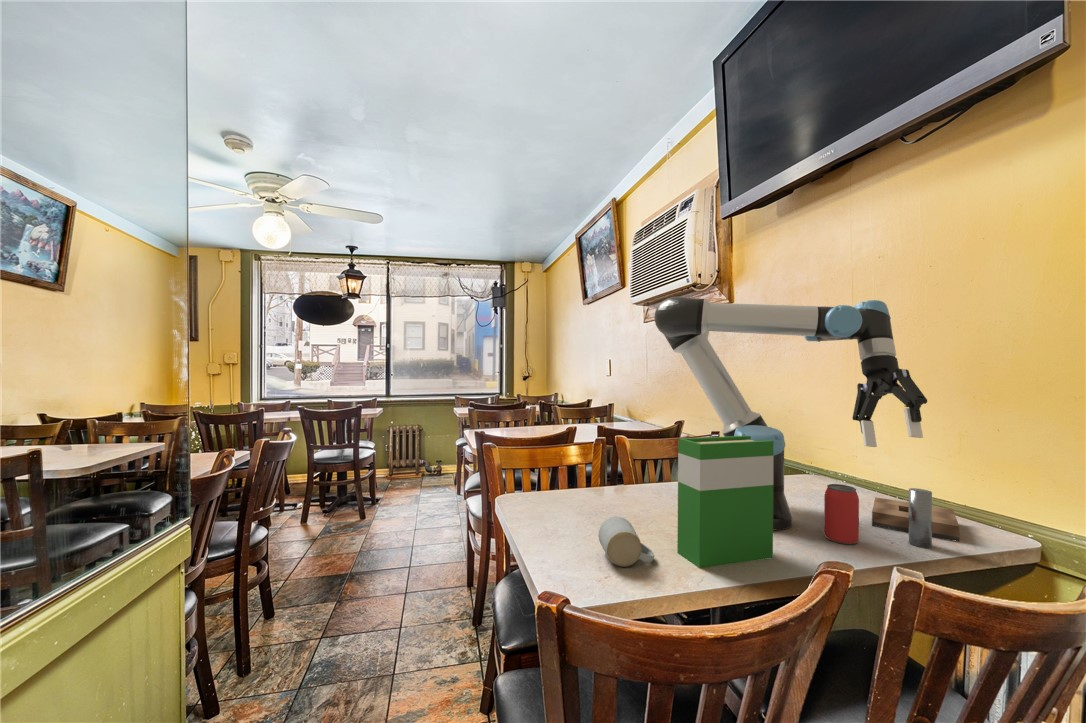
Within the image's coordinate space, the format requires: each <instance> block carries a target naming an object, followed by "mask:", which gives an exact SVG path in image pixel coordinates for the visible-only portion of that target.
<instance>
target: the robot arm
mask: <svg viewBox="0 0 1086 723" xmlns="http://www.w3.org/2000/svg"><path fill="white" fill-rule="evenodd" d="M654 312H655V313H654V318H653V319H654V323H655V326H656V328H657V329H658V331H659V332H660V333H661V334H662V335H663V336H664V337H665V339H666V341H667V343H668V344H669V346H670V347H671V349H672V350H673V352H674V353H678V354H680V355H681V356H682V357H683V359H684V360H685V363H686V364H687V366H688V368H689V369H690V371H691V373H692V374H693V376H694V377H695V380H696V381H697V382H698V384H699V386H700V388H701V389H702V391H703V392H704V394H705V396H706V398H707V399H708V400H709V402H710V404H711V406H712V407H713V409H714V411H715V412H716V414H717V417H719V419H720V421H721V423H722V424H723V426H722V431H721V433H722V435H723V437H727V436H751V440H753V441H767V440H771V441H774V452H773V531H781V530H786V529H789V528H791V527H792V526H793V516H792V515H793V514H792V512H791V510H790V506H789V504H788V501H787V500H788V499H787V497H786V495H785V449H786V448H785V447H786V441H785V436H784V433H783V432H782V431H781V430H780V429H777V428H776V427H775V428H774V427H771V426H768V425H767V422H766V421H765V419H764V418H763V416H762V415H761V413H760V412H755V411H753V410H751V407H750V406H749V405H748V403H747V401H746V399H745V398H744V397H743V395H742V393H741V391H740V390H739V388H738V386H737V384H736V382H734V379H733V378H732V377H731V375H730V373H729V372H728V371H727V369H726V367H725V366H724V364H723V362H722V361H721V359H720V357H719V356H718V354H717V353H716V351H715V349H714V348H713V346H712V344H711V342H710V341H709V340H708V339H709V334H710V332H717V333H718V332H722V333H723V332H724V333H740V334H741V333H742V334H761V335H781V336H800V337H804V339H805V340H806V342H807V341H808V342H819V343H820V342H827V341H828V342H829V341H830V342H831V341H833V342H834V341H843V340H844V341H846V340H847V341H848V340H851V341H852V340H856V341H857V346H858V353H859V354H858V355H859V359H860V360H861V361H860V365H861V366H860V367H861V374H862V375H863V376H864V377H865V378H866V383H865V382H864V383H860V382H859V383H857V387H856V388H857V393H856V397H855V398H856V399H855V404H854V408H853V413H852V420H853V421H858V422H859V426H860V432H861V434H862V439H863V445H864V447H869V448H876V447H878V445H877V439H876V431H875V425H874V424H875V423H874V421H873V420H872V417H873V415H874V412H875V410H876V407H877V404H878V402H879V400H881V399H882V398H883V397H884V396H887V395H888V394H892V395H893V396H895V398H897V399H898V400H899V401H900V402H901V403H902V404H903V405H904V408H903V412H904V419H905V422H906V423H905V424H906V428H907V429H906V430H907V434H908V437H909V438H915V439H916V438H918V439H922V438H924V436H923V434H924V433H923V429H922V424H921V422H922V420H923V419H922V413H921V407H922V405H926V404H927V403H928V399H927V398H926V396H925V394H924V393H923V392H922V391H921V390H920V388H919V386H918V385H917V384H916V383H915V381H914V380H913V379H912V377H911V373H910V370H909V369H903V368H900V366H899V362H898V360H899V359H898V358H897V357H896V356H897V351H896V345H895V341H894V336H893V329H892V322H891V314H890V312H889V308H888V306H887V304H886V302H884V301H882V300H878V299H870V300H866V301H861V302H858V303H856V304H855V305H854V306H851V305H847V304H843V305H841V304H839V305H835V306H818V305H817V306H816V305H814V306H813V305H791V304H790V305H788V304H787V305H785V304H761V303H760V304H757V303H756V304H755V303H726V302H725V303H724V302H721V303H719V302H710V301H709V300H707V298H695V297H685V296H671V297H668V298H666V299H663V300H662V301H661V302H660V303H659V304H658V306H657V307H656V309H655V311H654Z"/></svg>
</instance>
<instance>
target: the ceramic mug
mask: <svg viewBox="0 0 1086 723" xmlns="http://www.w3.org/2000/svg"><path fill="white" fill-rule="evenodd" d="M635 530H636V529H635V528H634V526H633V525H632V523H631V522H630V521H629V520H628V519H626V518H625V517H622V516H617V515H615V516H610V517H608V518H606V519H605V520H603V522H602V523H601V525H600V526H599V528H598V542H599V543H600V545H601V547H602V549H603V552H604V553H605V555H606V557H607V558H608V560H609V561H610V562H611V563H613V564H614V565H615V566H618V567H620V568H621V567H622V568H626V567H631V566H633V565H634V564H636V562H638V560H640V561H642V562H644V563H648V564H650V563H652V562H653V561H654V558H655V553H654V552H653V551H652V549H650V548H649V547H648V546H647V545H645V544H644V543H642V541H641V540H640V536H639V535H638V534H637V532H636V531H635Z"/></svg>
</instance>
